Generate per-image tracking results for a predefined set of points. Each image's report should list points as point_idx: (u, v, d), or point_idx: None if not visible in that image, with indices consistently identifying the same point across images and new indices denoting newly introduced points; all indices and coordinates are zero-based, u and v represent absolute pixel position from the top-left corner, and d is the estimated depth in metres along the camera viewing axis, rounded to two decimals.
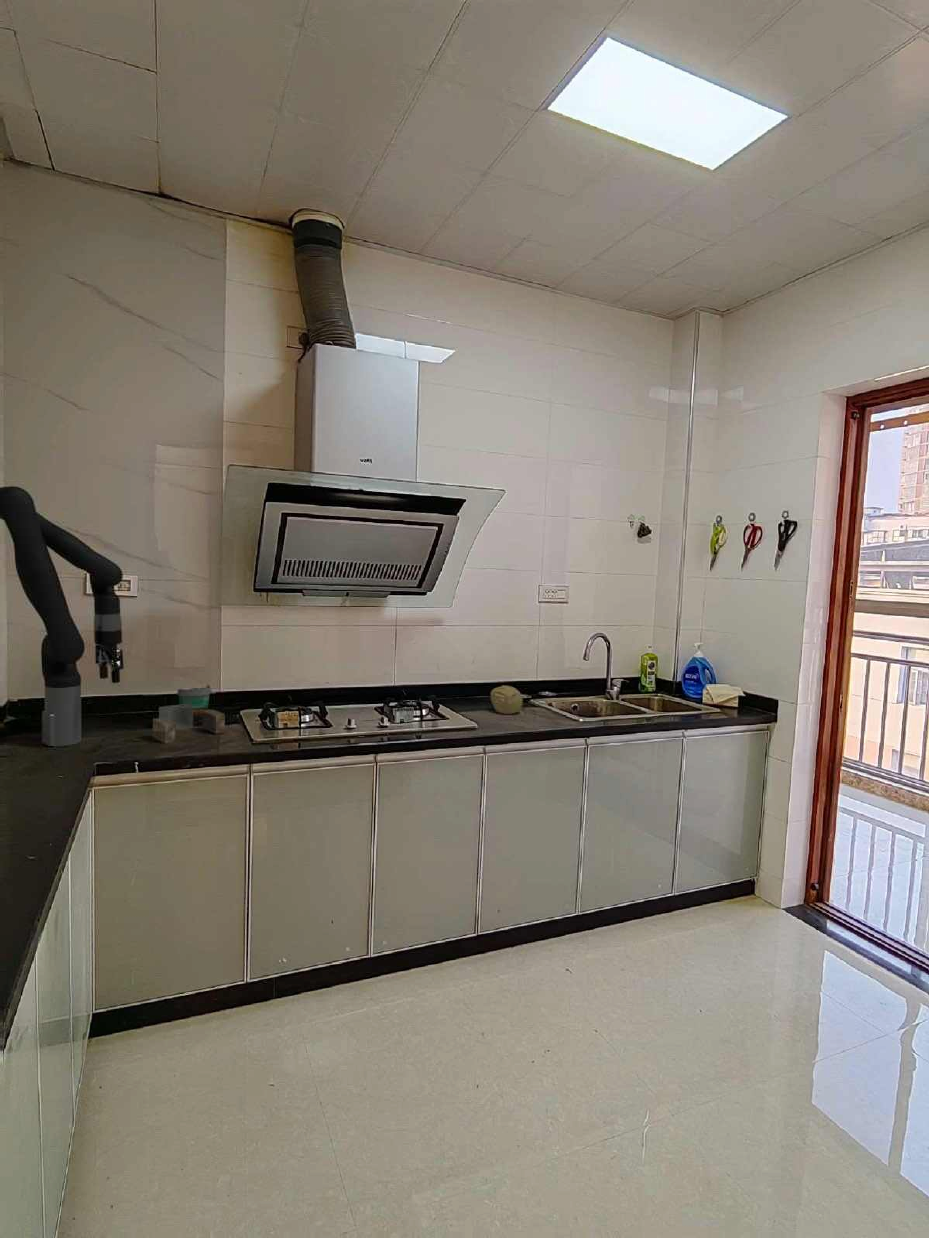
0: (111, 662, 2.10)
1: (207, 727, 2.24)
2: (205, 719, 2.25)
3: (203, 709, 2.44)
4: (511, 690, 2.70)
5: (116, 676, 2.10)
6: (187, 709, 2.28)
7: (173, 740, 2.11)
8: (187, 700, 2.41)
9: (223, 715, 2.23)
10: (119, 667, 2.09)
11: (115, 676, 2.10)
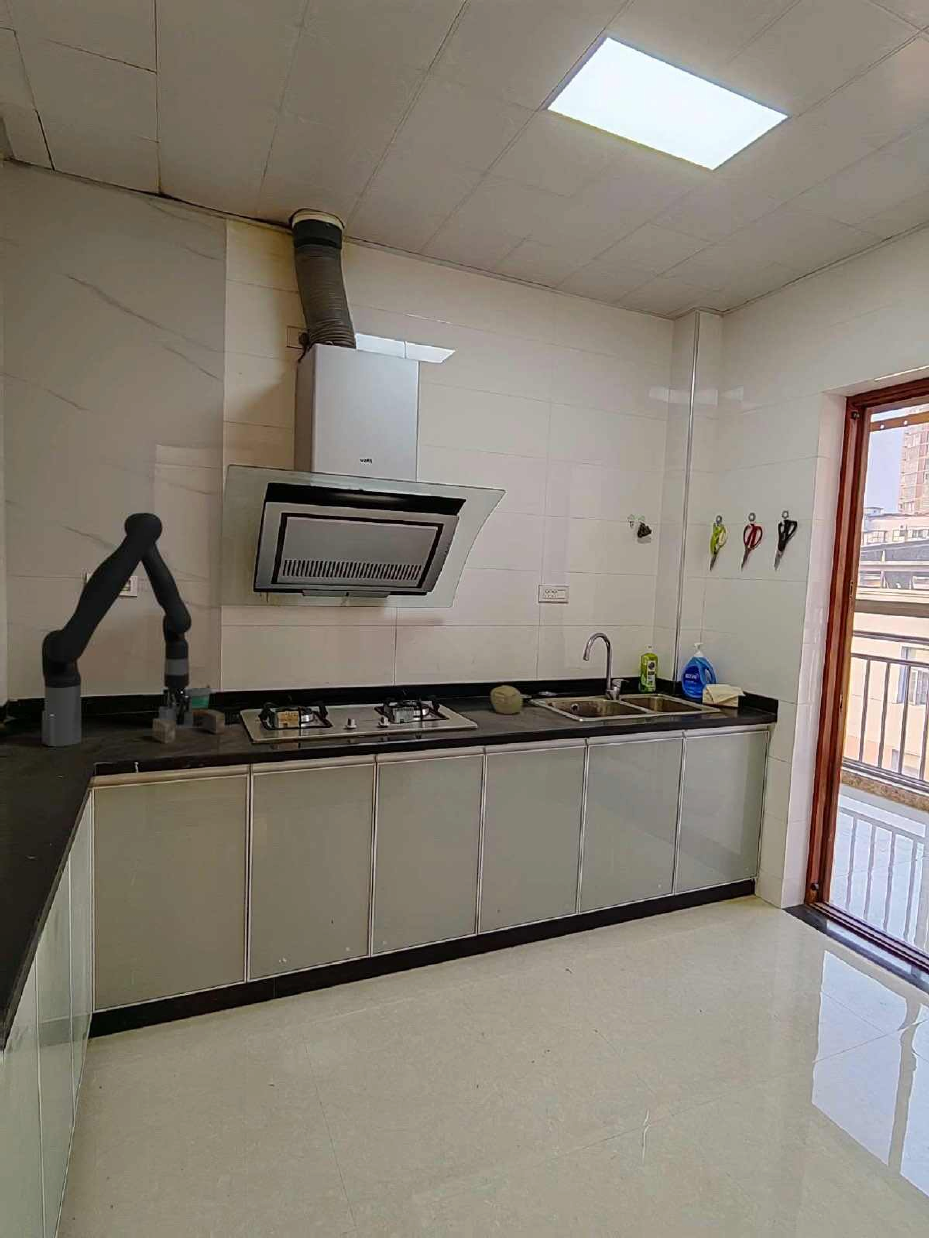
0: (178, 705, 2.25)
1: (207, 727, 2.24)
2: (205, 719, 2.25)
3: (203, 709, 2.44)
4: (511, 690, 2.70)
5: (181, 719, 2.26)
6: None
7: (173, 740, 2.11)
8: None
9: (223, 715, 2.23)
10: (185, 710, 2.24)
11: (180, 719, 2.25)
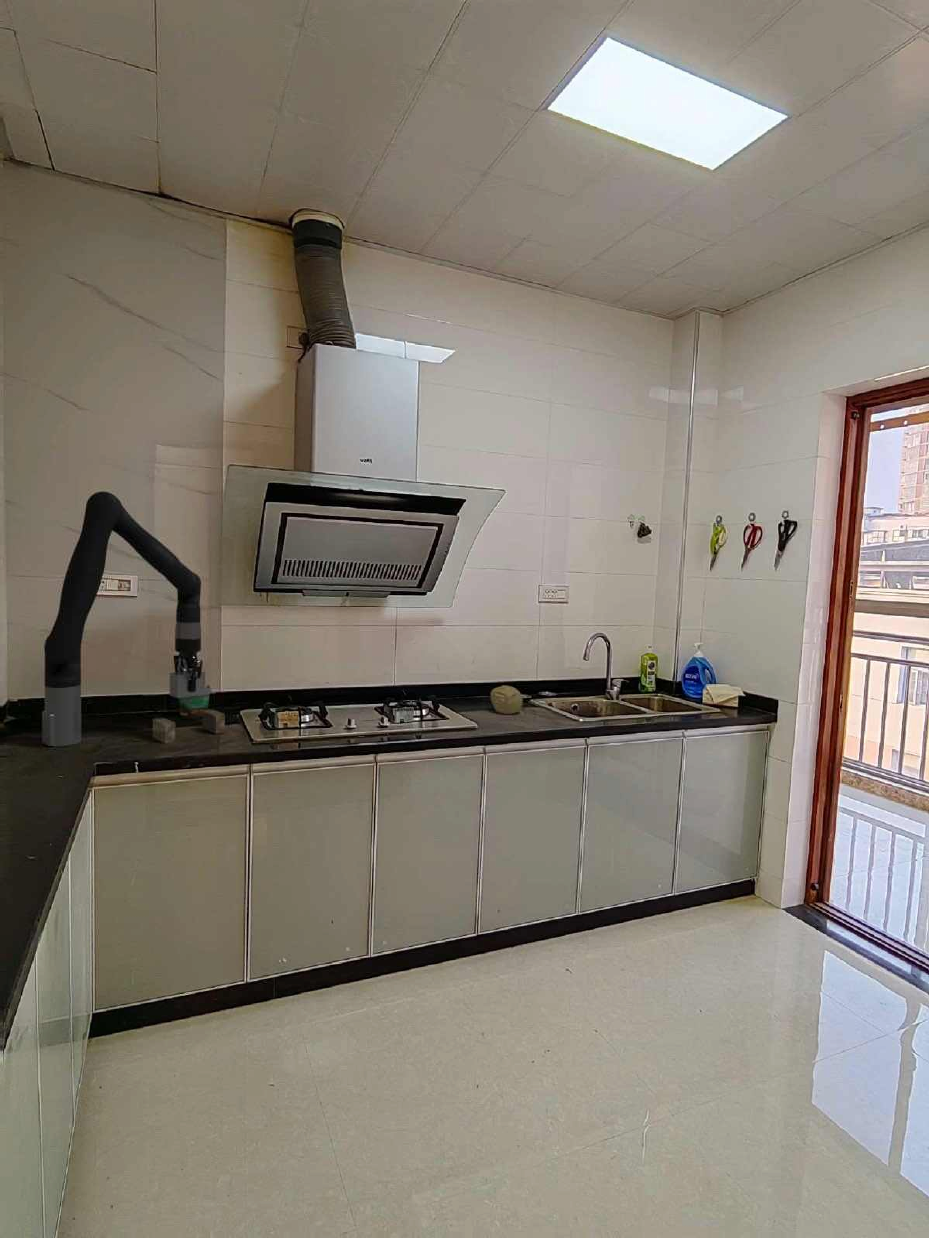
0: (189, 671, 2.14)
1: (207, 727, 2.24)
2: (205, 719, 2.25)
3: (203, 709, 2.44)
4: (511, 690, 2.70)
5: (193, 685, 2.15)
6: None
7: (173, 740, 2.11)
8: (187, 700, 2.41)
9: (223, 715, 2.23)
10: (196, 676, 2.14)
11: (192, 685, 2.15)
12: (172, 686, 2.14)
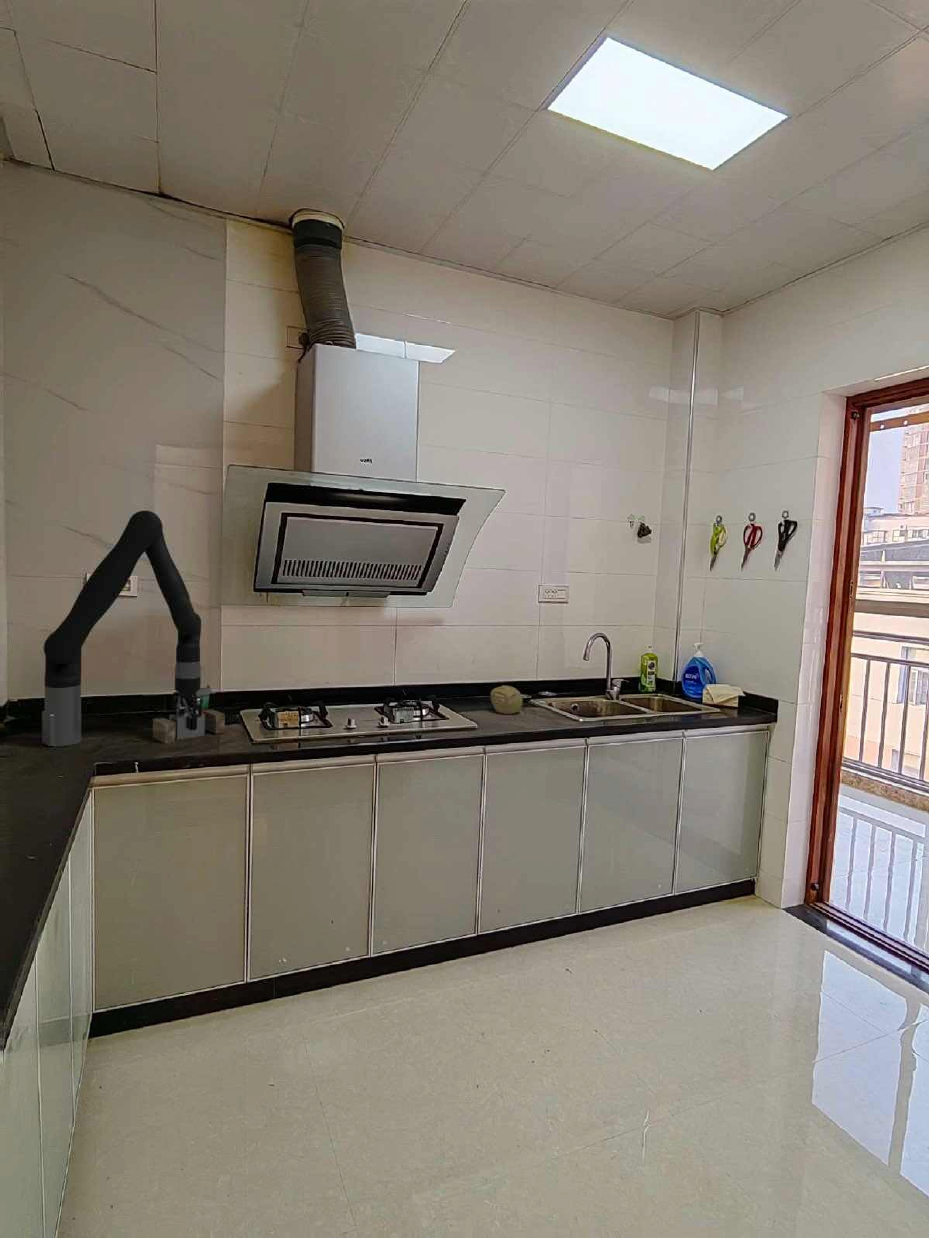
0: (190, 710, 2.15)
1: (207, 727, 2.24)
2: (205, 719, 2.25)
3: (203, 709, 2.44)
4: (511, 690, 2.70)
5: (194, 724, 2.15)
6: (198, 717, 2.19)
7: (173, 740, 2.11)
8: None
9: (223, 715, 2.23)
10: (198, 715, 2.14)
11: (193, 724, 2.15)
12: None
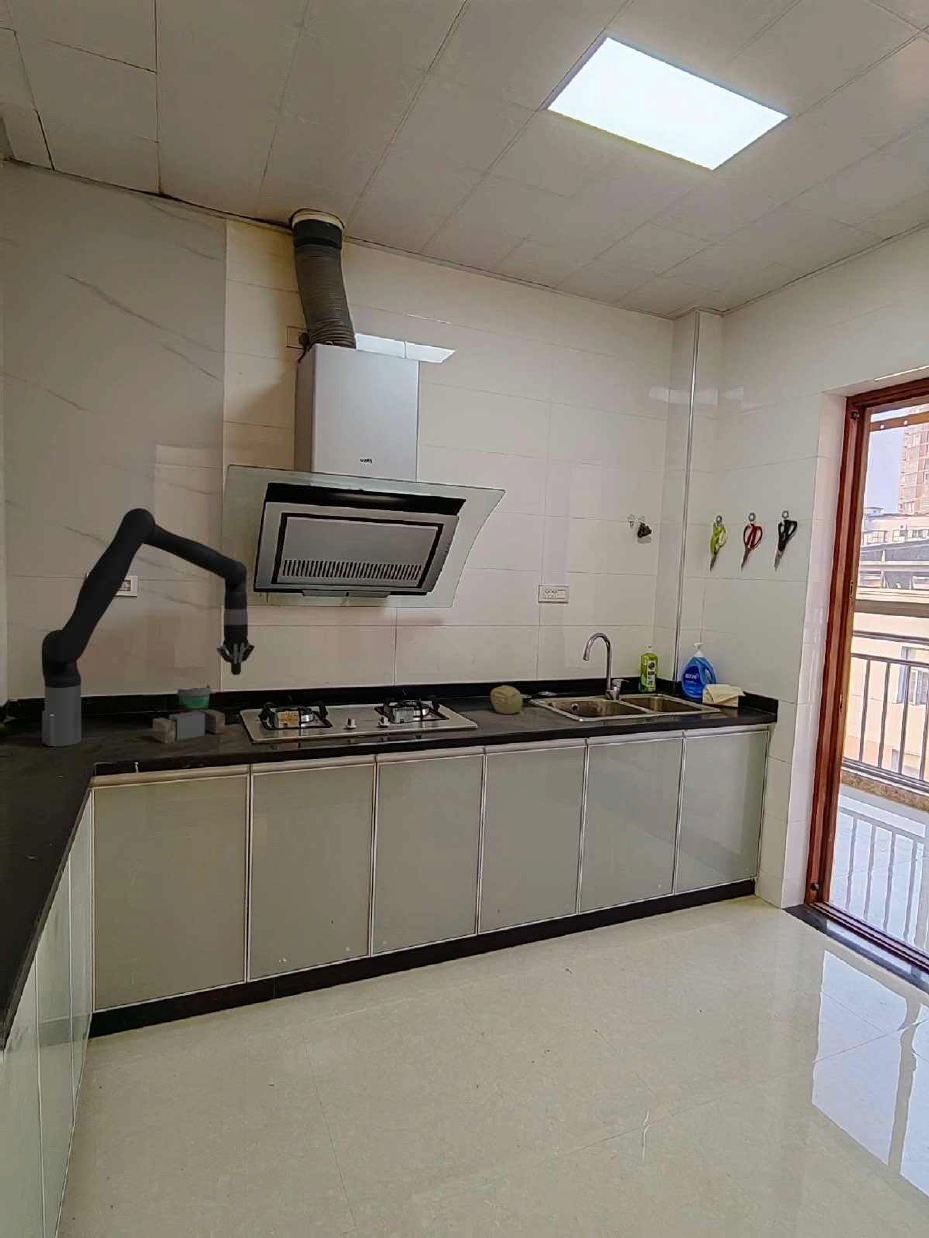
0: (230, 656, 2.28)
1: (207, 727, 2.24)
2: (205, 719, 2.25)
3: (203, 709, 2.44)
4: (511, 690, 2.70)
5: (231, 668, 2.28)
6: (198, 717, 2.19)
7: (173, 740, 2.11)
8: (187, 700, 2.41)
9: (223, 715, 2.23)
10: (227, 660, 2.26)
11: (231, 668, 2.28)
12: None
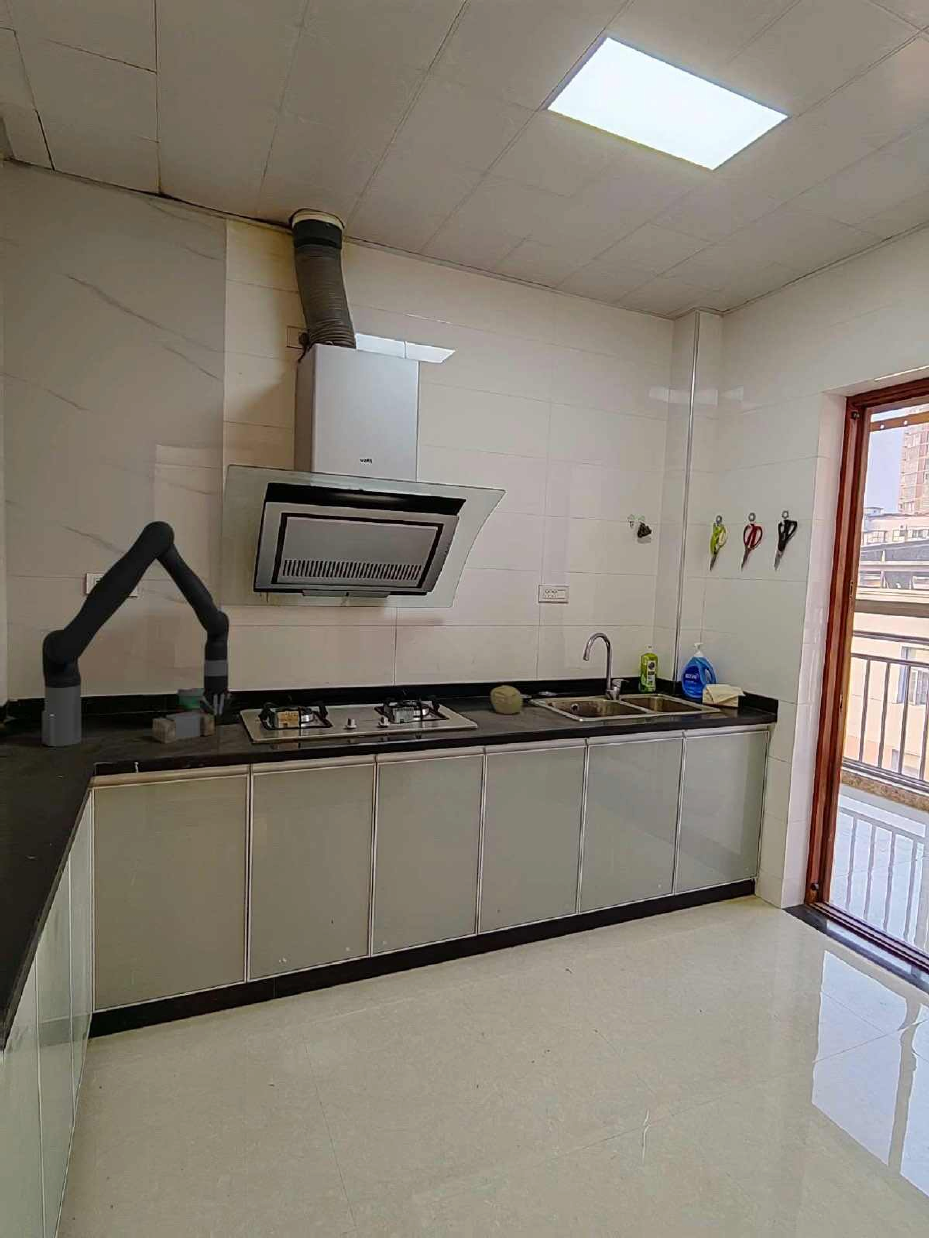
0: (210, 706, 2.25)
1: None
2: None
3: None
4: (511, 690, 2.70)
5: None
6: (195, 717, 2.18)
7: (173, 740, 2.11)
8: (187, 699, 2.41)
9: (212, 717, 2.21)
10: (207, 711, 2.23)
11: None
12: None
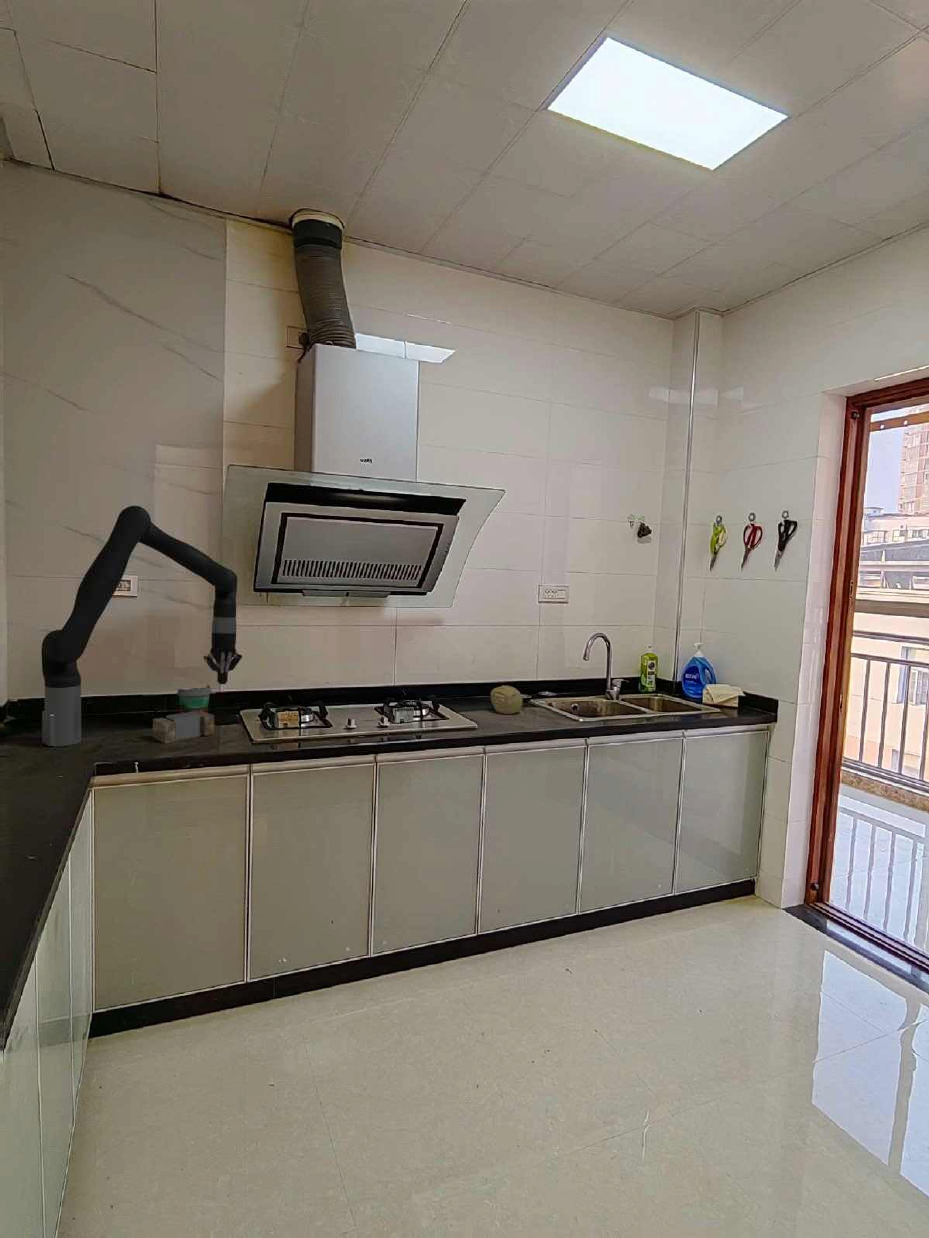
0: (216, 664, 2.25)
1: None
2: None
3: (203, 709, 2.44)
4: (511, 690, 2.70)
5: (218, 677, 2.25)
6: (195, 718, 2.18)
7: (173, 740, 2.11)
8: (187, 700, 2.41)
9: (212, 717, 2.21)
10: (213, 669, 2.23)
11: (217, 677, 2.25)
12: None
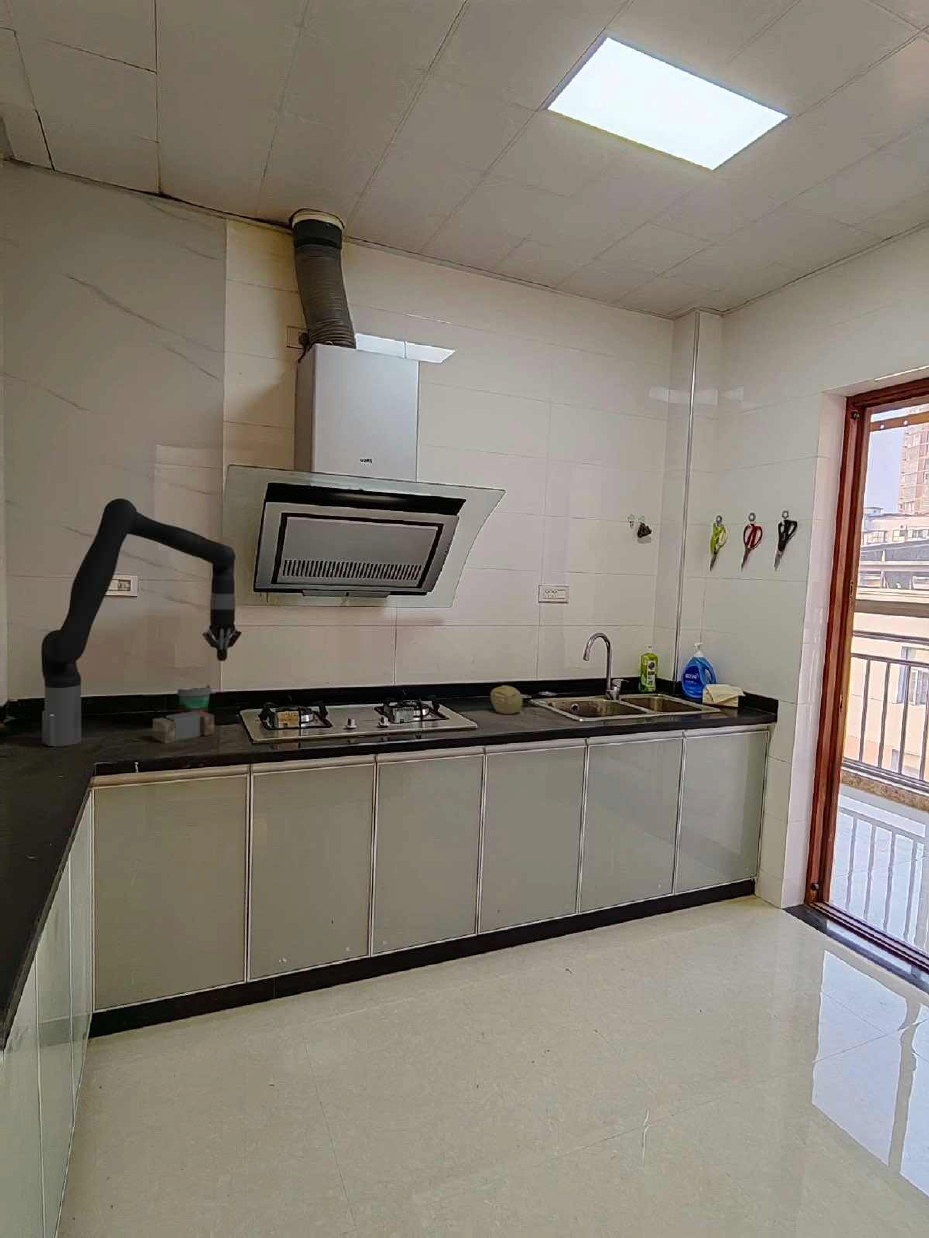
0: (216, 641, 2.24)
1: None
2: None
3: (203, 709, 2.44)
4: (511, 690, 2.70)
5: (217, 654, 2.24)
6: (195, 717, 2.18)
7: (173, 740, 2.11)
8: (187, 700, 2.41)
9: (212, 717, 2.21)
10: (213, 645, 2.23)
11: (217, 654, 2.25)
12: None
